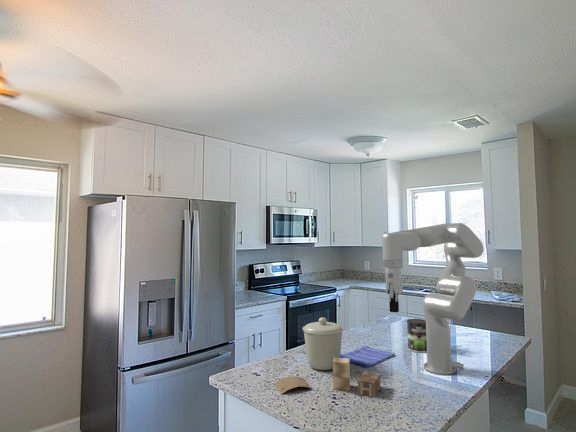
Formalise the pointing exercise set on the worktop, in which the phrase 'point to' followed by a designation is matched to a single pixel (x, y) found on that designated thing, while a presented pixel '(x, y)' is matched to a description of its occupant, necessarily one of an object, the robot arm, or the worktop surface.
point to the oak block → (341, 374)
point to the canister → (322, 343)
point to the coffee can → (417, 335)
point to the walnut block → (369, 384)
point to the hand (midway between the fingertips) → (394, 311)
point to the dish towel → (367, 356)
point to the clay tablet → (290, 383)
